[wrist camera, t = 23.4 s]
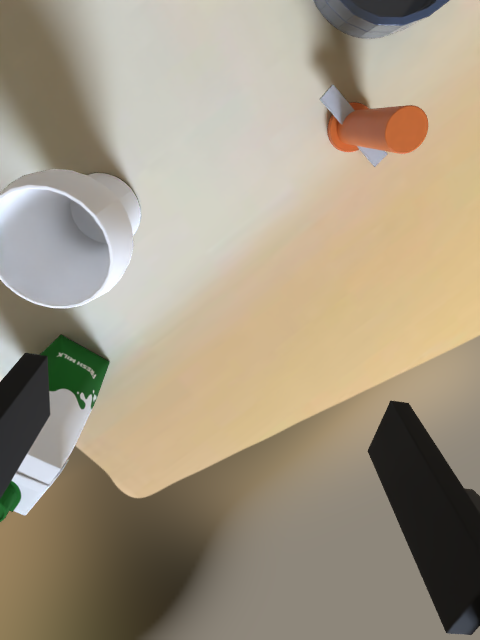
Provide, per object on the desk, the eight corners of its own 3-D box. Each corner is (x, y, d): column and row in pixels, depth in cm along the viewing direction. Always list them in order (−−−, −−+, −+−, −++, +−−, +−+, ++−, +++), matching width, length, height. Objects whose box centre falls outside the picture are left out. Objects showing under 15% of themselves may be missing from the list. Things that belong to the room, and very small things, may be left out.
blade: (303, 112, 38) (341, 107, 26) (337, 74, 37) (393, 49, 24) (359, 175, 41) (417, 198, 29) (392, 142, 40) (468, 151, 27)
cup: (34, 178, 40) (-61, 206, 27) (127, 142, 39) (75, 152, 26) (85, 269, 45) (26, 331, 32) (169, 239, 44) (144, 291, 30)
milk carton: (27, 372, 51) (-79, 505, 33) (58, 324, 48) (-41, 442, 30) (87, 403, 54) (18, 542, 36) (120, 359, 51) (63, 487, 33)
